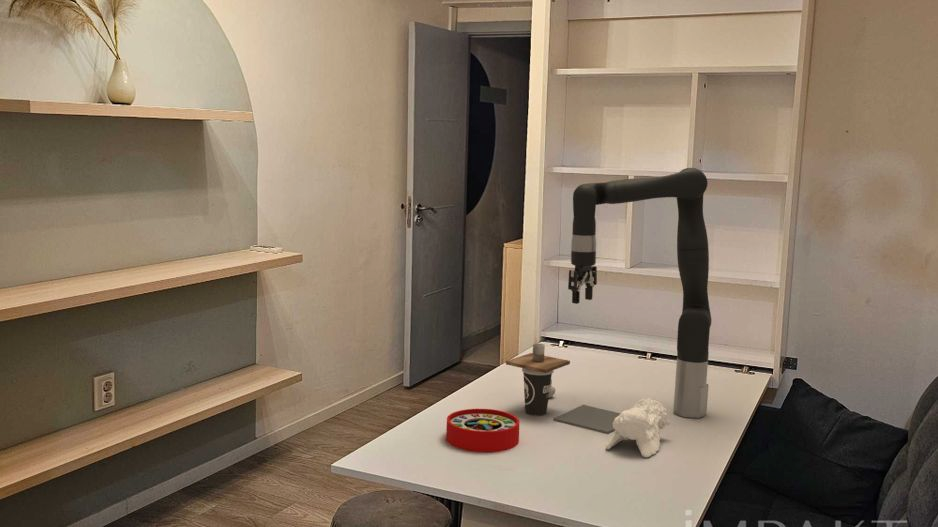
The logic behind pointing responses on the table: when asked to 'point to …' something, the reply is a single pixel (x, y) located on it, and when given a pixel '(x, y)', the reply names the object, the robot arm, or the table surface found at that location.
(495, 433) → the toy clock
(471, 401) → the table surface
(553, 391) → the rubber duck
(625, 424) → the white lumpy figure
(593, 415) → the charcoal mat
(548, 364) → the walnut lid
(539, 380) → the coffee cup
